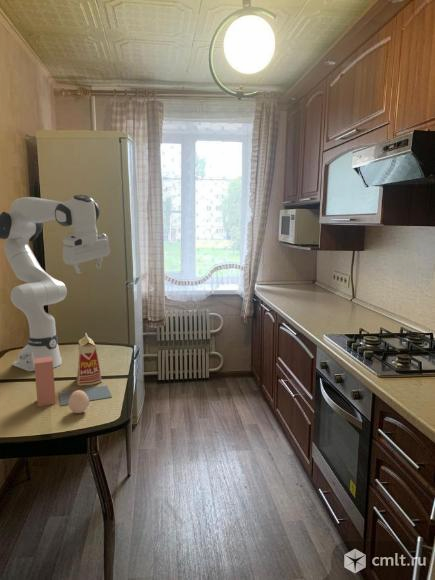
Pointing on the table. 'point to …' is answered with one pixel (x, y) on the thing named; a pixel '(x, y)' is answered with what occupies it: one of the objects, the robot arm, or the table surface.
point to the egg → (78, 401)
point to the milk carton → (88, 363)
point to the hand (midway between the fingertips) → (88, 270)
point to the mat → (92, 394)
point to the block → (44, 381)
